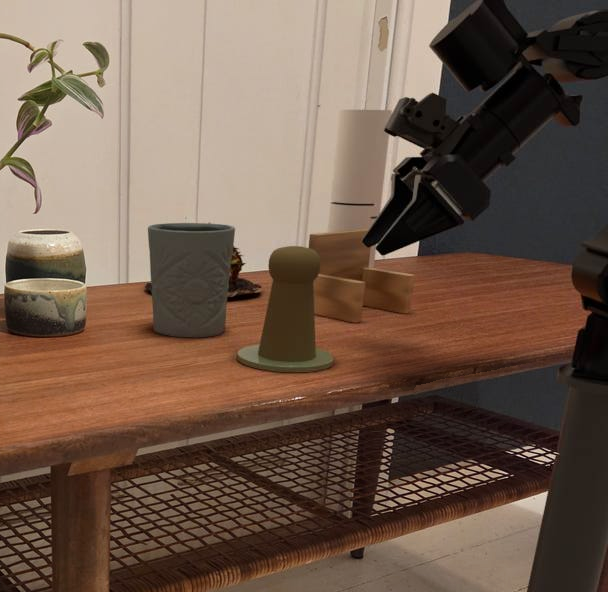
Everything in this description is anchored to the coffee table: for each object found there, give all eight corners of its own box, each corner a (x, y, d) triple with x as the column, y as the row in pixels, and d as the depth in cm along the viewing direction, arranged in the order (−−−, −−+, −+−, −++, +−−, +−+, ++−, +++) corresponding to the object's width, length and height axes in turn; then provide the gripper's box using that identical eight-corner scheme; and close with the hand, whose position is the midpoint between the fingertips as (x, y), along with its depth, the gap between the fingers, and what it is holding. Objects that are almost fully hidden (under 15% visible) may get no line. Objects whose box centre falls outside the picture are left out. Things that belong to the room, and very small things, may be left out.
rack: (410, 312, 117) (420, 235, 113) (355, 323, 111) (364, 241, 107) (357, 302, 123) (365, 228, 120) (302, 311, 117) (309, 233, 113)
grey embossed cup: (199, 342, 99) (204, 233, 95) (128, 330, 105) (129, 226, 100) (245, 328, 107) (251, 225, 102) (176, 317, 112) (179, 219, 108)
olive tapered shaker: (263, 361, 90) (271, 250, 85) (253, 347, 95) (260, 243, 91) (322, 362, 90) (333, 251, 86) (309, 347, 95) (318, 243, 91)
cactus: (136, 298, 124) (137, 226, 120) (153, 280, 138) (154, 215, 135) (259, 304, 121) (264, 231, 117) (263, 285, 136) (268, 219, 132)
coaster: (348, 358, 94) (349, 353, 93) (307, 378, 86) (308, 372, 86) (264, 344, 99) (265, 339, 99) (219, 361, 92) (219, 356, 91)
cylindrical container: (313, 287, 134) (329, 109, 125) (354, 285, 136) (373, 110, 127) (337, 295, 128) (356, 109, 119) (380, 293, 130) (402, 110, 121)
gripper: (421, 74, 92) (308, 187, 97) (467, 52, 74) (327, 192, 79) (491, 154, 94) (376, 261, 98) (551, 150, 76) (409, 281, 81)
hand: (371, 248), depth 89 cm, fingers open, 9 cm apart
